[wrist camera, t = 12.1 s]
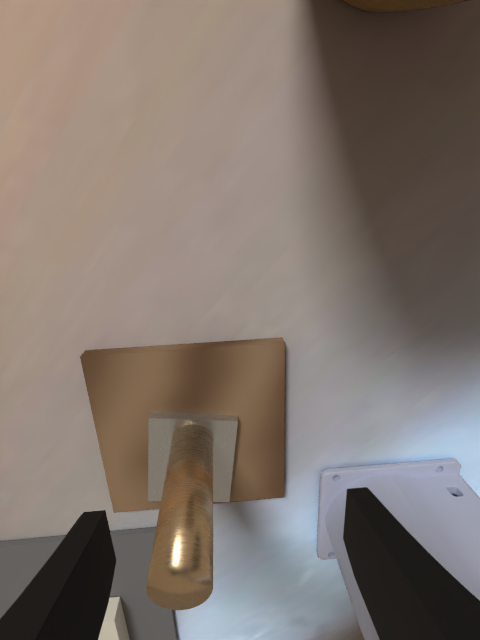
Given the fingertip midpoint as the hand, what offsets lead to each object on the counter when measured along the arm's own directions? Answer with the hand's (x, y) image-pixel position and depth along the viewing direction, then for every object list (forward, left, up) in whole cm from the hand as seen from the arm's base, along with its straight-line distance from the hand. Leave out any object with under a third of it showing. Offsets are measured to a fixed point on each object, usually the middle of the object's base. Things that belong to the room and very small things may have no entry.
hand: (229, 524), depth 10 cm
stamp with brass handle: (+2, +5, -10) cm, 11 cm away
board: (+2, +4, -10) cm, 11 cm away
